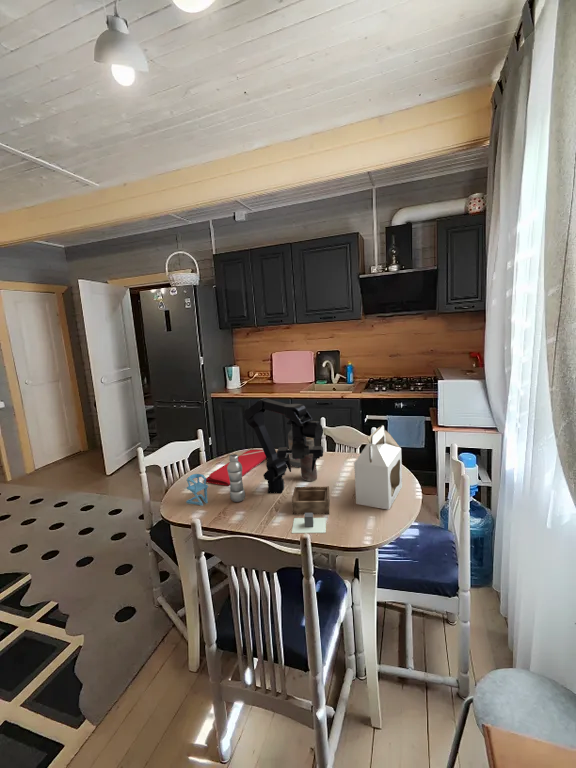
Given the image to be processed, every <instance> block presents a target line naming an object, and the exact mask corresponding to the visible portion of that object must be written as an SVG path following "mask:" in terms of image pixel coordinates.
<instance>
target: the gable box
mask: <svg viewBox="0 0 576 768" xmlns="http://www.w3.org/2000/svg"><path fill="white" fill-rule="evenodd" d="M367 441H368V443H367V444H366V445H365V446H364V448H363V449H362V451H361V452H360V453H359V455H358V457H357V459H356V460H355V461H354V462H353V464H354V466H353V467H354V484H355V503H356V505H361V506H365V507H371V508H378V509H383V510H391V507H392V506H393V504H394V502H395V500H396V498H397V496H398V494H399V493H400V491H401V489H402V487H403V470H402V468H403V464H402V463H403V462H402V461H403V460H402V448H401V446H400V445H399V444H398V443H397V441H396V440H395V439H394V438H393V436H392V434H391V433H390V432H388V430H386V429H385V426H384V425H383V424H381V426H379V427H378V428H377V429H375V431H373V433H371V434H370V435H369V436H368V437H367Z"/></svg>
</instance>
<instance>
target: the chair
mask: <svg viewBox="0 0 576 768" xmlns="http://www.w3.org/2000/svg"><path fill="white" fill-rule="evenodd" d="M200 477H201V478H202V479H203V483H202V482H200ZM206 478H207V477H205V475H204V474H202V473H193V474H191V475H189V476H188V478H186V481H187V484H188V486H186V490H188V491H190V492H191V493H192V494H193V495H194V496H193V497H191V498H190V499H187V500H185V501H186V502H185V503H186V504H190V505H197V506H201V507H203V506H204V504H203V502H204V503H205V504H208V503H209V501H208V488H209V485H208V484H207V482H206ZM194 479H196V480H197V481H195V480H194ZM202 490H203V492H204V495H203V494H202V493H200V494H197V493H198V492H201V491H202ZM196 499H197V501H194V500H196Z"/></svg>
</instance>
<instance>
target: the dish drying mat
mask: <svg viewBox="0 0 576 768" xmlns="http://www.w3.org/2000/svg"><path fill="white" fill-rule="evenodd" d="M264 460H267V458H266V455H265V453H264V451H263V449H249V450H247V451H245V452H243V453H242V454H240V455H239V456H238V461H239V462H240V463H241V465H242V477H244V476H246V474H247V473H249V472H251V471H252V470H253V469H255V468H256V467H257V466H259V465H260V464H261V463H262V462H263V461H264ZM228 464H229V462H228V463H226V464H224V465H222V466H221V467H219V468H218V469H216V470H214V471H213V472H211V473H210V474H209V476H207V477H205V478H206V483H207V482H208V483H209V484H214V485H218V486H224V487H230V479H229V475H228V471H227V466H228Z"/></svg>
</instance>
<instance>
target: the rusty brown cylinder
mask: <svg viewBox="0 0 576 768" xmlns="http://www.w3.org/2000/svg"><path fill="white" fill-rule="evenodd" d="M314 439H315V438H309V437H306V443H307V446H309V449H313V446H315V440H314ZM312 458H313V454H309V455H306V456H305V458H304V459H300V465H301V468H300V474H301V479H303V480H305V481H308V482H314V481H316V480H317V479H318V470H317V462H316V463H315V466H314V470H313V472H312Z"/></svg>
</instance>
